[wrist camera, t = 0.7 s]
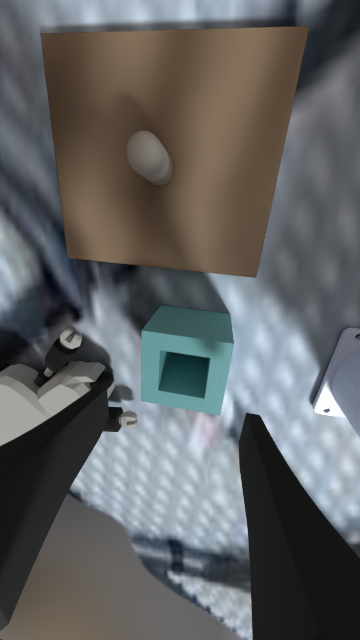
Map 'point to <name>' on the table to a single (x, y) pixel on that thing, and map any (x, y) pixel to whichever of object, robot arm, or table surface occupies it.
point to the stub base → (171, 142)
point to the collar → (186, 358)
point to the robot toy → (53, 390)
